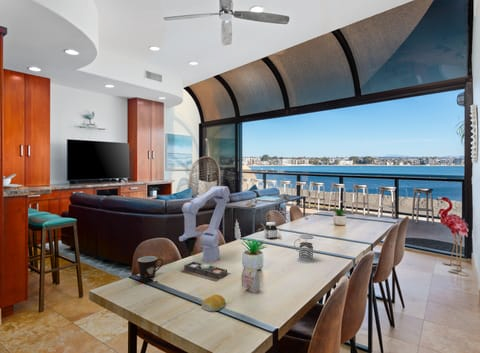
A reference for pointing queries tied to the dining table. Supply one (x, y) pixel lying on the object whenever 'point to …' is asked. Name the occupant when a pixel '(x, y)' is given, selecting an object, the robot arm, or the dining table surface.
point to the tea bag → (250, 279)
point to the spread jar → (271, 231)
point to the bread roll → (213, 303)
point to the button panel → (205, 272)
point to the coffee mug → (147, 268)
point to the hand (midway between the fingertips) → (190, 251)
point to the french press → (305, 249)
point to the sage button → (205, 266)
